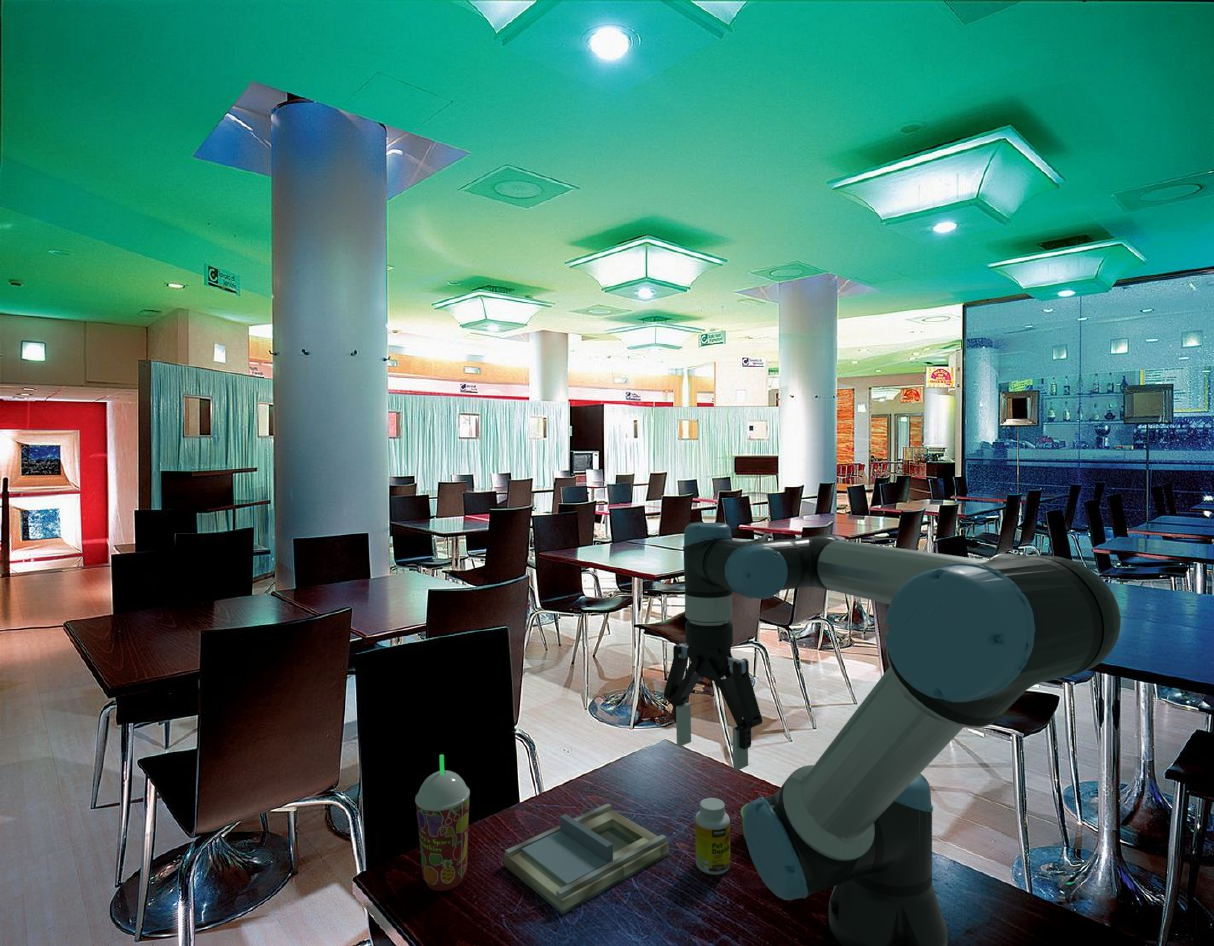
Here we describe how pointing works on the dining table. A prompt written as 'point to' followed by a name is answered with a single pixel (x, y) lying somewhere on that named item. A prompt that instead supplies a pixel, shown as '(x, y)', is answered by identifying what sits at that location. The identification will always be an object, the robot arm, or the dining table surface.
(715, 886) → the dining table surface
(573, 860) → the cover
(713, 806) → the supplement bottle
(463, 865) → the smoothie
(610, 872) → the sliding lid box
